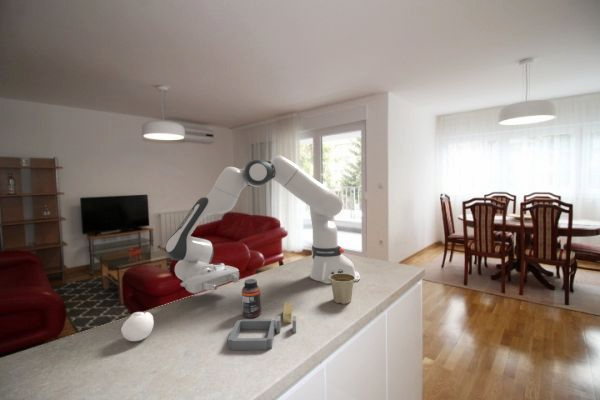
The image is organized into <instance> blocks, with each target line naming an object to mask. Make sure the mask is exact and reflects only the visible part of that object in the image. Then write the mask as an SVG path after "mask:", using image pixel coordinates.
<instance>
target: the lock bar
mask: <svg viewBox="0 0 600 400" xmlns="http://www.w3.org/2000/svg"><path fill="white" fill-rule="evenodd" d="M282 316H283V317H282V320H283V321H282V323H283V324H292V319H293V302H290V301H289V302H286V301H285V302H284V306H283V313H282Z"/></svg>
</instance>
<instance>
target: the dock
mask: <svg viewBox="0 0 600 400" xmlns="http://www.w3.org/2000/svg"><path fill="white" fill-rule="evenodd" d="M281 318H282V317H281V315H277V316H276V319H272V318H247V319H246V318H245V319H243V318H242V319H238V320H236V322H235V324H234V326H233V327H232V330H231V332H230V334H229V336H228V338H227V349H228V350H232V351H267V350H268V349H269V350H270V349H273V345H274V339H275V333H276V334H280V333H281V330H282V321H281V320H282V319H281ZM291 324H292V325H291V326H292V333H294V334H296V333H297V315H292V323H291ZM241 330H243V331H244V330H247V331H248V330H268V333H267V337H244V338H243V337H242V338H241V337H240V338H239V335H240V333H241Z"/></svg>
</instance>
